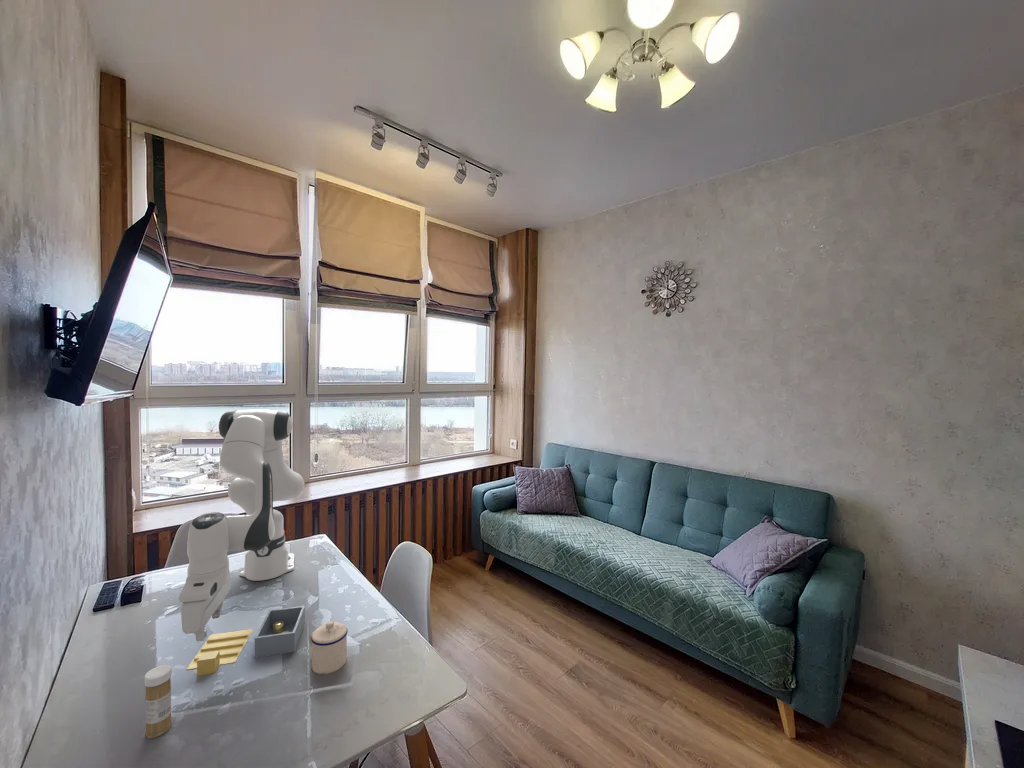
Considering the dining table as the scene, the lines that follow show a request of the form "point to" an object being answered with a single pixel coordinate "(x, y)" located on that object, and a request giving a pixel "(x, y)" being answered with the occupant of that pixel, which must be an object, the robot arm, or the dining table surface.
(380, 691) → the dining table surface
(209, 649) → the yellow flat ridged piece
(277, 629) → the ball
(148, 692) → the sprinkles bottle
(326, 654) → the teacup with lid
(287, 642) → the tub
